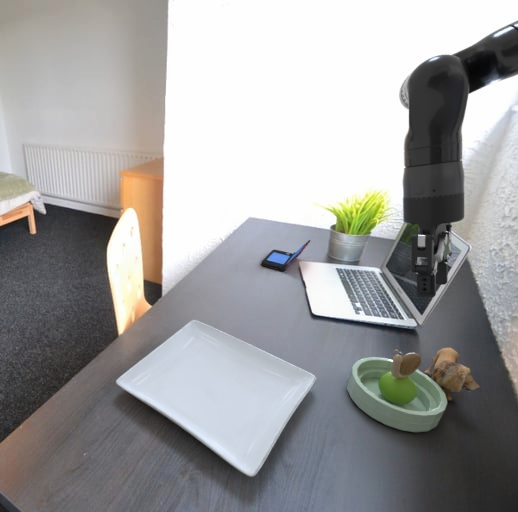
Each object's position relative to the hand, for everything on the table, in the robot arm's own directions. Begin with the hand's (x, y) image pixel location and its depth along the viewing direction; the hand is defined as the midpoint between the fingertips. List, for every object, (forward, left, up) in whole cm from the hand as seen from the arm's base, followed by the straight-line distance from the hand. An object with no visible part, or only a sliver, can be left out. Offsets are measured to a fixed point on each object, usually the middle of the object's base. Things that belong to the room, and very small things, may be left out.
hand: (432, 289), depth 61 cm
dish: (+3, +5, -21) cm, 22 cm away
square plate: (+34, +9, -21) cm, 41 cm away
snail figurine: (+3, +5, -21) cm, 21 cm away
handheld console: (+12, -50, -21) cm, 56 cm away
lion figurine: (-8, -1, -21) cm, 23 cm away
